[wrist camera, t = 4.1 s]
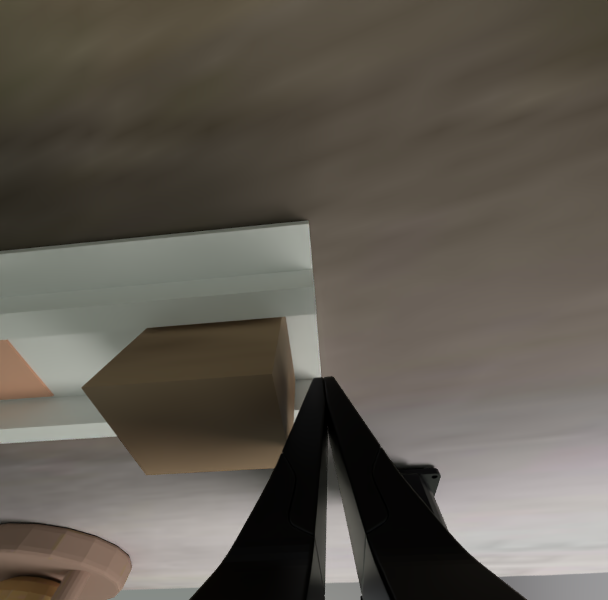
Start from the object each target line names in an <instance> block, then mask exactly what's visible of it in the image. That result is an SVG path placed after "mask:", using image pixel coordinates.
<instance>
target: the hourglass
mask: <svg viewBox="0 0 608 600" xmlns="http://www.w3.org/2000/svg"><path fill="white" fill-rule="evenodd" d="M131 568H132V565H131V561H130V558H129V556H128V555H127V554H126V553H125V552H123V551H122V550H121V549H120V548H119V547H117V546H115V545H113V544H111V543H109V542H107V541H105V540H102V539H100V538H98V537H96V536H92V535H89V534H85V533H82V532H78V531H75V530H71V529H67V528H60V527H54V526H48V525H41V524H20V523H7V524H1V525H0V600H107V599H110V598H113V597H115V596H116V595H117V594H118V593H119V592H120V590H121V589H122V588H123V586H124V584H125V582H126V580H127V578H128V575H129V573H130V571H131Z"/></svg>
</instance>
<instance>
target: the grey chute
mask: <svg viewBox="0 0 608 600" xmlns="http://www.w3.org/2000/svg"><path fill="white" fill-rule="evenodd" d="M316 314H317V313H316V300H315V288H314V278H313V269H312V256H311V244H310V232H309V221H308V220H307V221H297V222H287V223H277V224H267V225H257V226H247V227H237V228H227V229H217V230H207V231H197V232H187V233H177V234H167V235H157V236H147V237H137V238H127V239H117V240H107V241H96V242H86V243H76V244H66V245H56V246H46V247H36V248H26V249H16V250H6V251H0V444H2V443H18V442H35V441H51V440H67V439H83V438H99V437H115V436H117V435H116V434H115V433H114V431H113V430H112V429H111V427H110V426H109V425H108V423H107V422H106V421H105V419H104V418H103V417H102V415H101V414H100V412H99V411H98V410H97V408H96V407H95V406H94V404H93V403H92V402H91V400H90V399H89V398H88V396H87V395H86V394H85V392H84V391H83V390H82V388H81V387H82V386H83V385H85V384H86V383H87V382H88V381H89V380H90V379H91V378H92V377H93V376H94V375H96V374H97V373H98V372H99V371H100V370H101V369H102V368H103V367H104V366H105V365H107V364H108V363H109V362H110V361H111V360H112V359H113V358H114V357H115V356H116V355H118V354H119V353H120V352H121V351H122V350H123V349H124V348H125V347H126V346H128V345H129V344H130V343H131V342H132V341H133V340H134V339H135V338H136V337H137V336H139V335H140V334H141V333H142V332H143V331H144V330H145V329H146V328H153V327H165V326H177V325H189V324H202V323H214V322H226V321H238V320H250V319H262V318H275V317H286V322H287V328H288V335H289V341H290V348H291V354H292V361H293V368H294V374H295V404H294V422H295V419H296V417H297V415H298V412H299V410H300V408H301V405H302V403H303V401H304V398H305V396H306V394H307V391H308V389H309V387H310V384H311V382H312V380H313V378H316V377H321V367H320V354H319V342H318V330H317V318H316Z"/></svg>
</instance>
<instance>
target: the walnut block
mask: <svg viewBox="0 0 608 600" xmlns="http://www.w3.org/2000/svg"><path fill="white" fill-rule="evenodd" d="M81 388H82V390H83V391H84V392H85V394H86V395H87V396H88V398H89V399H90V400H91V402H92V403H93V404H94V406H95V407H96V408H97V410H98V411H99V412H100V414H101V415H102V417H103V418H104V419H105V421H106V422H107V423H108V425H109V426H110V427H111V429H112V430H113V431H114V433H115V434H116V435H117V437H118V438H119V439H120V441H121V442H122V443H123V445H124V446H125V447H126V449H127V450H128V451H129V453H130V454H131V455H132V457H133V458H134V459H135V461H136V462H137V463H138V465H139V466H140V467H141V469H142V470H143V471H144V473H145V474H146V475H158V474H176V473H195V472H213V471H231V470H250V469H268V468H275V466H276V464H277V461H278V459H279V457H280V454H281V453H282V450H283V448H284V445H285V443H286V441H287V438H288V436H289V433H290V431H291V429H292V426H293V424H294V404H295V374H294V368H293V361H292V354H291V348H290V341H289V335H288V328H287V322H286V317H275V318H262V319H250V320H238V321H226V322H214V323H202V324H189V325H177V326H165V327H153V328H146V329H145V330H144V331H143V332H142V333H141V334H140V335H139V336H137V337H136V338H135V339H134V340H133V341H132V342H131V343H130V344H129V345H128V346H126V347H125V348H124V349H123V350H122V351H121V352H120V353H119V354H118V355H116V356H115V357H114V358H113V359H112V360H111V361H110V362H109V363H108V364H107V365H105V366H104V367H103V368H102V369H101V370H100V371H99V372H98V373H97V374H96V375H94V376H93V377H92V378H91V379H90V380H89V381H88V382H87V383H86V384H85V385H83V386H82V387H81Z"/></svg>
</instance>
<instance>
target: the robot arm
mask: <svg viewBox="0 0 608 600" xmlns="http://www.w3.org/2000/svg"><path fill="white" fill-rule="evenodd" d="M327 426H328V427H327ZM328 434H329V440H330V445H331V449H332V454H333V459H334V464H335V469H336V473H337V478H338V483H339V488H340V493H341V497H342V502H343V507H344V512H345V516H346V521H347V526H348V531H349V536H350V540H351V545H352V550H353V555H354V560H355V564H356V569H357V574H358V579H359V583H360V588H361V593H362V596H361V600H527V599H526V598H524V597H523V596H522V595H520V594H519V593H518V592H517V591H515V590H514V589H513V588H511V587H510V586H509V585H508V584H506V583H505V582H504V581H503V580H501V579H500V578H499V577H497V576H496V575H495V574H494V573H492V572H491V571H490V570H488V569H487V568H486V567H485V566H483V565H482V564H481V563H480V562H478V561H477V560H476V559H475V558H474V557H473V556H471V555H470V554H469V553H468V552H467V551H466V550H465V549H464V548H463V547H462V546H461V545H460V544H459V543H458V542H457V540H456V539H455V538H454V537H453V536H452V535H451V534H450V533H449V531H448V529H447V526H446V524H445V522H444V519H443V517H442V514H441V512H440V510H439V507H438V505H437V503H436V500H435V498H434V496H435V493H436V489H437V486H438V483H439V480H440V477H441V475H440V473H439V471H438V469H436V468H429V469H410V470H397V468H396V467H395V465H394V464H393V463H392V461H391V460H390V459H389V457H388V456H387V454H386V453H385V451H384V450H383V448H381V446H380V444H379V443H378V441H377V440H376V438H375V437H374V435H373V434H372V432H371V431H370V429H369V428H368V427H367V425H366V424H365V422H364V421H363V419H362V418H361V416H360V415H359V413H358V412H357V410H356V409H355V408H354V406H353V405H352V403H351V402H350V400H349V399H348V397H347V396H346V394H345V393H344V391H343V390H342V389H341V387H340V386H339V384H338V383H337V381H336V380H335V378H334V377H332V376H331V377H324V378H322V377H316V378H313V380H312V382H311V384H310V387H309V389H308V391H307V394H306V396H305V398H304V401H303V403H302V405H301V408H300V410H299V412H298V415H297V417H296V419H295V422H294V424H293V426H292V429H291V431H290V433H289V436H288V438H287V441H286V443H285V445H284V448H283V450H282V453H281V454H280V457H279V459H278V461H277V464H276V466H275V468H274V470H273V472H272V475H271V477H270V479H269V481H268V483H267V485H266V487H265V488H264V490H263V492H262V494H261V496H260V498H259V500H258V501H257V503H256V505H255V507H254V509H253V510H252V512H251V514H250V516H249V518H248V519H247V521H246V523H245V525H244V526H243V528H242V530H241V532H240V534H239V535H238V537H237V539H236V541H235V542H234V544H233V546H232V548H231V549H230V551H229V552H228V554H227V555H226V557H225V558H224V560H223V561H222V563H221V564H220V565H219V566H218V568H217V569H216V570H215V571H214V573H213V574H212V575H211V576H210V577H209V578H208V579H207V580H206V582H205V583H204V584H203V585H202V586H201V587H200V588H199V589H198V590H197V592H196V593H195V594H194V595H193V596H192V597H191V598H190V599H189V600H325V596H324V595H325V561H326V512H327V464H328Z"/></svg>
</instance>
